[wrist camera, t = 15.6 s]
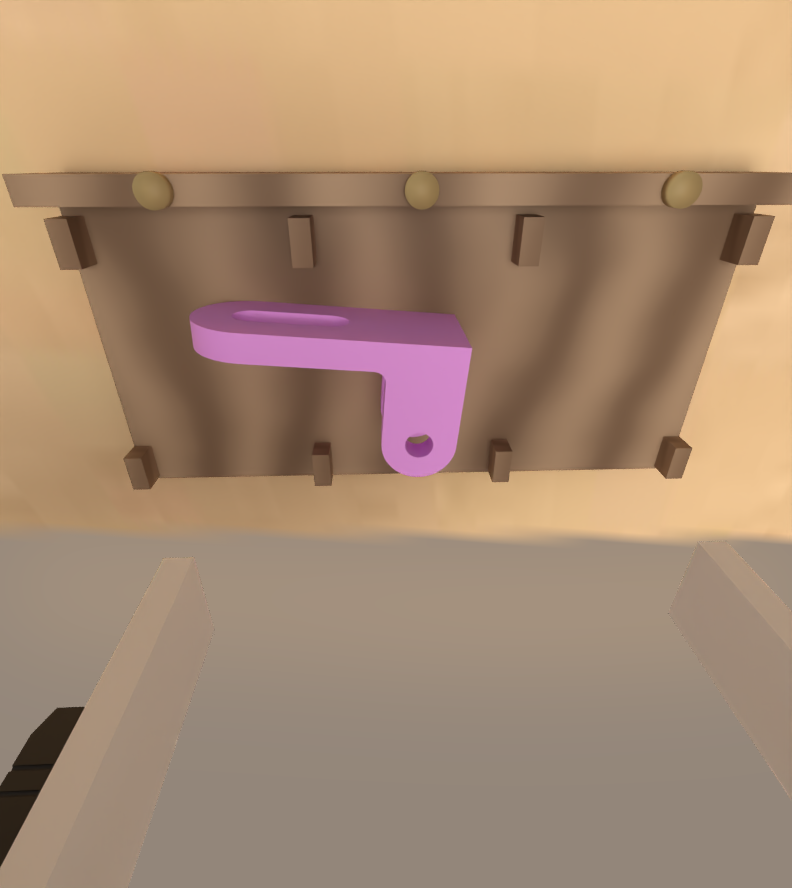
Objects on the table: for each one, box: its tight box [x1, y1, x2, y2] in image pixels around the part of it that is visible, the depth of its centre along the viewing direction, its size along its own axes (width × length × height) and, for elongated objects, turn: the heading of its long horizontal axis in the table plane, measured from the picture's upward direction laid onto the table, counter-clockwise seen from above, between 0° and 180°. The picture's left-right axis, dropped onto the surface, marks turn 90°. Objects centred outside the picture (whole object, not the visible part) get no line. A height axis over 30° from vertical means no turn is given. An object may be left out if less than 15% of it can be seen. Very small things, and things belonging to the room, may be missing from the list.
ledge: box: [2, 171, 792, 489], centre depth 26 cm, size 34×17×5 cm, turn 90°
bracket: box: [189, 301, 472, 477], centre depth 25 cm, size 13×6×7 cm
